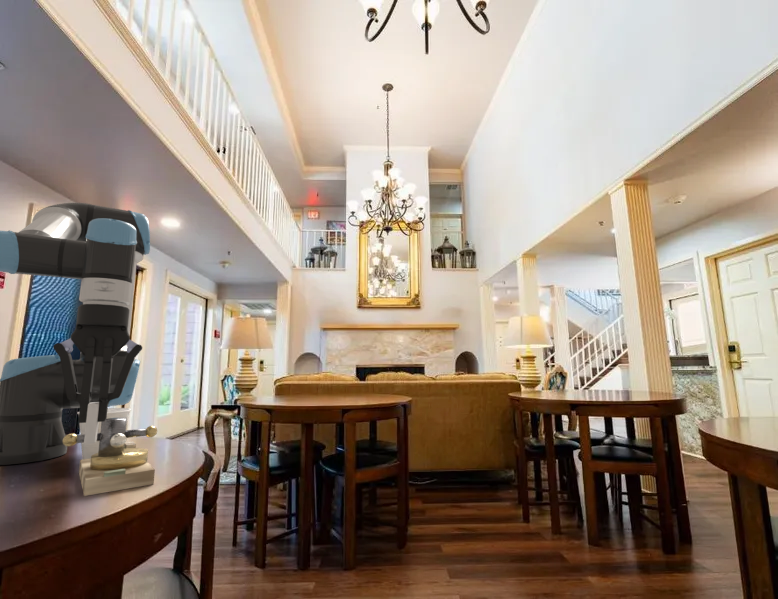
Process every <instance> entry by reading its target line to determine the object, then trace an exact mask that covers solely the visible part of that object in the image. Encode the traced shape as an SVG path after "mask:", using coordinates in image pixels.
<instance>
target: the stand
mask: <svg viewBox="0 0 778 599" xmlns="http://www.w3.org/2000/svg"><path fill="white" fill-rule="evenodd" d="M126 448H137V444H136V442H135V441H126V442H125V446H124V449H126ZM90 463H91V458H89V459H79V468H78V475H79V480H80V485H81V488H82V494H83V496H84V497H87V496H93V495H97V494H103V493H104V494H105V493H108V492H109V493H110V492H115V491H121V490H127V489H133V488H139V487H143V486H150V485H154V484H155V471H156V470H155V469H156V468H154V467H153V466H152V464H151V463H149V462H148V460H147V461H146V462H145V463H143V464H140V465H136V466H131V467H126V468H119V469H106V470H100V469H92V468H90Z"/></svg>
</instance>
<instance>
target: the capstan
mask: <svg viewBox="0 0 778 599" xmlns="http://www.w3.org/2000/svg"><path fill="white" fill-rule="evenodd" d="M127 423H128V420H127V418H108V419H106V420H105V421H104V422H101V431H100V433H97V441H99V451H98V453H96V454H94V455H92V456H91V463H90V468H92V469H100V470H106V469H119V468H126V467H131V466H136V465H140V464H143V463H145V462H146V461H147V462H148V459H149V458H148V456H149V449H148V448H142V447H141V448H139V447H136V448H126V449H124V446H125V442H127V439H130V438H138V437H147V438H153V437H155V436H156V435H157V434H158V428H157V427H156V426H154V425H149V426H147V427H146V428H137V429H127V426H128V425H127ZM84 437H85V434H84V435H80V434H76V433H74V432H72V433H68V434H65V437H64V438H63V444H64V445H65V446H67V447H73V446H75V445H76V444H81V443H84Z"/></svg>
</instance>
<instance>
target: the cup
mask: <svg viewBox="0 0 778 599" xmlns="http://www.w3.org/2000/svg"><path fill="white" fill-rule="evenodd" d="M131 411H132V408H128V407H127V408H126V407H108V410H107V418H106V419H108V418H127V421H129V417H130V413H131ZM76 412H77V415H79V411H76ZM78 423H79V422H78ZM85 428H86V423H79V433H80V434H79V435H84V434H85ZM100 431H101V422H99V423H98V433H100ZM80 446H81V458H82V459H89V458H91V456H92V455H94V454H96V453H98V451H99V441H96V442H95V443H90V444H84V443H80Z"/></svg>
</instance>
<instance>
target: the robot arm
mask: <svg viewBox="0 0 778 599" xmlns="http://www.w3.org/2000/svg"><path fill="white" fill-rule="evenodd" d="M150 230H151V229H150V222H149V219H148V216H146V215H145V214H144V213H140V212H136V211H132V210H129V209H128V210H125V209H119V208H115V207H114V208H113V207H109V206H103V205H102V206H101V205H96V204H90V203H85V202H64V203H58V204H57V203H56V204H52V205H49V206H46V207H44V208H42V209H40V210H38V211H37V212H36V213H35V214H34V215H33V218H32V221H31V222H30V223H29V224H28V225H27V226H25V227H24V228H23V229H21V230H19V231H18V232H16V231H12V230H0V273H1V272H2V273H8V274H10V275H15V274H16V275H17V274H18V275H27V276H38V277H40V276H41V277H42V276H43V277H54V278H65V279H74V280H81V283H80V290H79V297H78V301H80V302H81V303H82V304H80V305H79V306H78V307H77V315H76V323H75V324H76V325H75V328H74V331H73V332H72V333H71V334H70V338H68V339H66V340H64V341H62V342H60V343H59V342H55V344H54V345H53V346H52V347H53V350H54V351H55V352H56V354H52V355H51V354H50V355H40V356H29V357H19V358H14V359H10V360H8V361H6V362H5V363H4V365H3V368H2V370H1V371H2V372H1V376H0V466H5V465H17V464H18V465H19V464H26V463H27V464H28V463H33V462H34V463H35V462H41V461H45V460H50V459H54V458H58V457H60V456H61V457H62V456H63V455H66V454H67V451H68V446H65V445H64V444H63V438H64V437H65V436H66V433H65V430H64V426H63V422H62V415H63V409H79V411H78V412H79V414H78V423H86V428H85V437H84V444H90V443H95V442H96V441H97V433H98V423H99V422H104V421H105V420H106V418H107V410H108V408H111V407H113V406H114V407H115V406H123V405H126V404H128V403H129V402H130V401H131V400H132V399H133V396H134V391H135V387H136V383H137V378H138V374H139V370H140V365H141V360H140V359H137V358H136V357H137V356H138V355H139V354H140V353H141V351H142V350H143V346H142V345H141V344H138V343H136V342H134V341H133V340H131V327H132V326H131V325H132V314H133V305H134V304H133V303H134V293H135V292H134V291H135V283H136V273H137V264H139V263H140V262H142V261H144V255H148V254H150V253H151V252H150V251H151V233H150V232H151V231H150ZM74 345H75V347H76V348H77V349H78V350H79V352H80V354H79V359H73V357H72V354H71V353H72V352H73V350H74V348H73V346H74ZM135 358H136V359H135Z"/></svg>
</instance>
